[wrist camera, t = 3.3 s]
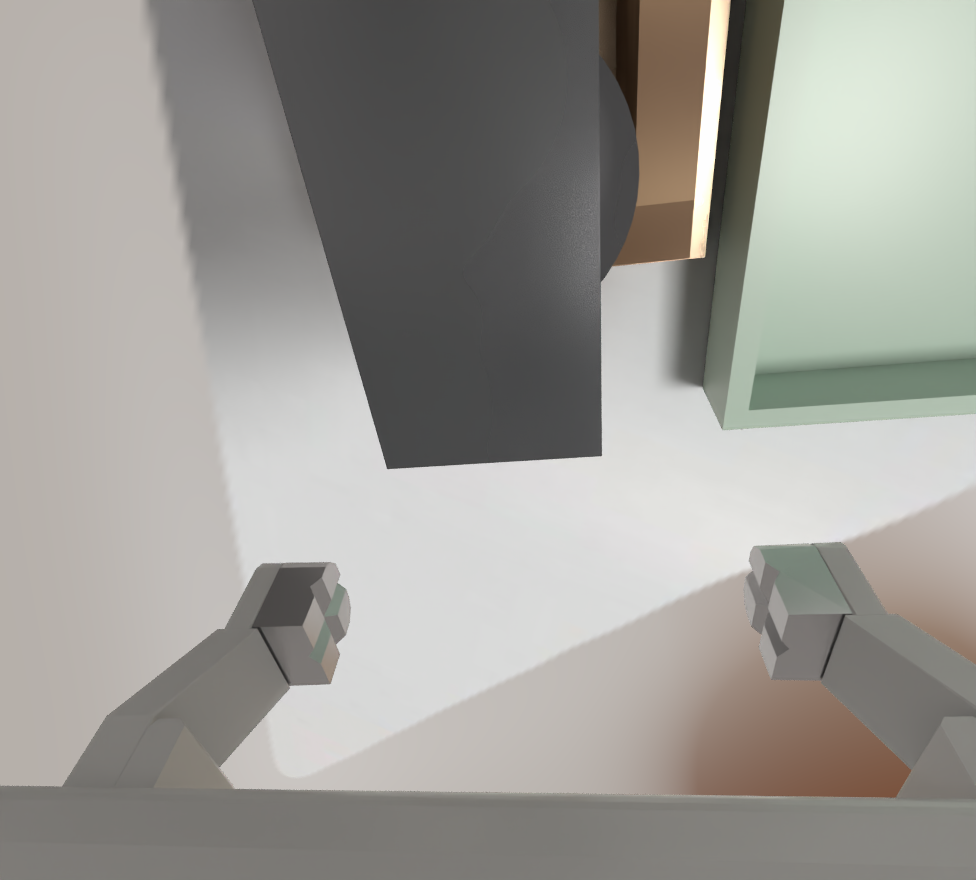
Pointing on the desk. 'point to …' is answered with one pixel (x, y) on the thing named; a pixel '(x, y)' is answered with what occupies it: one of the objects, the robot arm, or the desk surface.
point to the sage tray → (848, 217)
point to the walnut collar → (663, 118)
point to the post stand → (472, 207)
